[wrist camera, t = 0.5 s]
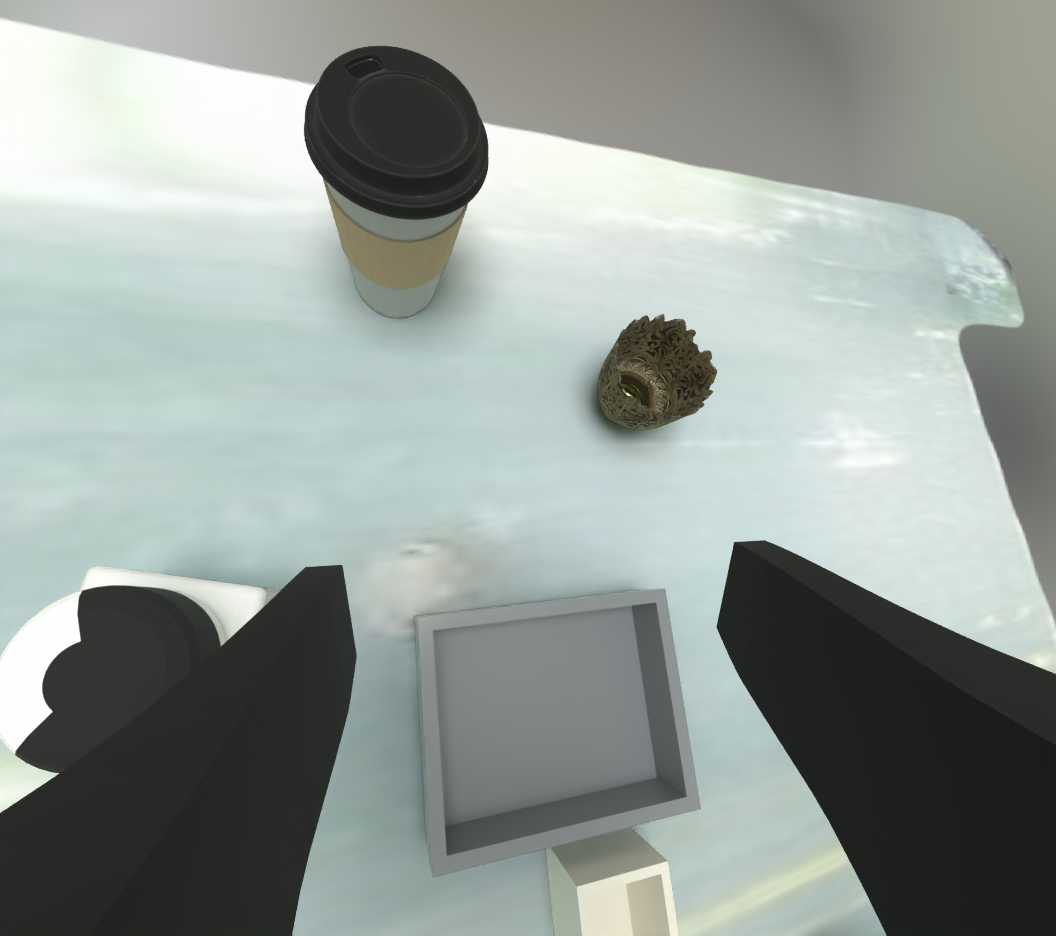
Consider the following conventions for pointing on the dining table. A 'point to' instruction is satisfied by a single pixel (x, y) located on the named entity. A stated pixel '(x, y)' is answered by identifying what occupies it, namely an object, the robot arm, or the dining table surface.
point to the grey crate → (549, 725)
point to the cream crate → (610, 887)
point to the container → (110, 657)
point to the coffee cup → (395, 168)
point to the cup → (654, 375)
